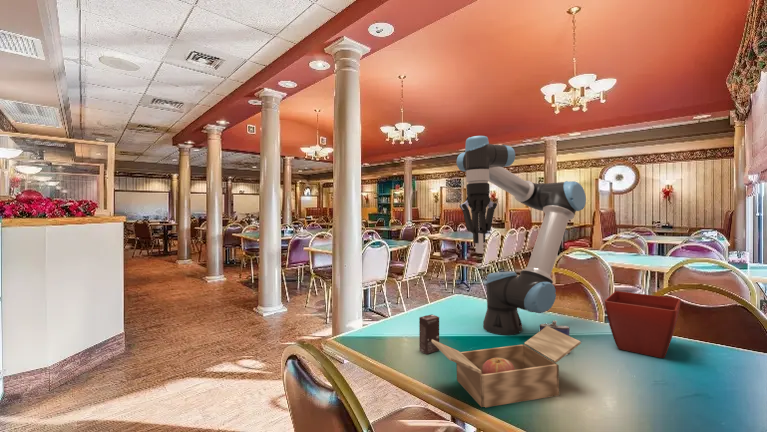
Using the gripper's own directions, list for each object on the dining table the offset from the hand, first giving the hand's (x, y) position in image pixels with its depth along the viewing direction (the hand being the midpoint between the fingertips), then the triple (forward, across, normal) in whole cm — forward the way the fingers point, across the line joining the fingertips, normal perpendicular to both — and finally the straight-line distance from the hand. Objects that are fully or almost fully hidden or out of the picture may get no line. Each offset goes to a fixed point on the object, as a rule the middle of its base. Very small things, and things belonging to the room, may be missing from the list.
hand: (479, 252), depth 121 cm
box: (+35, +16, -7) cm, 39 cm away
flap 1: (+26, +16, +23) cm, 38 cm away
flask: (+35, -24, +6) cm, 43 cm away
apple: (+35, +7, +23) cm, 42 cm away
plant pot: (+35, -54, +12) cm, 65 cm away
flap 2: (+26, -5, +23) cm, 35 cm away
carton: (+34, +5, +23) cm, 42 cm away
